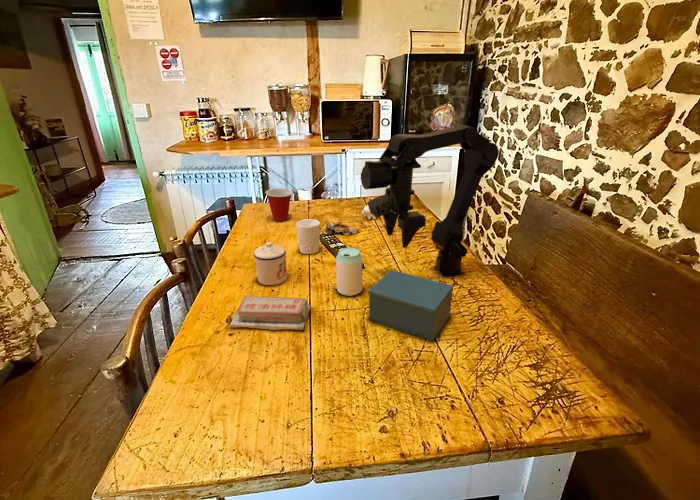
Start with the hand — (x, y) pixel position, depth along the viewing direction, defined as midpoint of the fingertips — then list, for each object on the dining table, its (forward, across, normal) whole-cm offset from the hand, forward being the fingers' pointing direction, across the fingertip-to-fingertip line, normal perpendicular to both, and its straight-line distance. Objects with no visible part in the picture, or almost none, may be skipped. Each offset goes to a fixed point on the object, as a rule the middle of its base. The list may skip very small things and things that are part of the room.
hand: (396, 241), depth 109 cm
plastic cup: (+14, -66, -20) cm, 70 cm away
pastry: (+13, -44, -1) cm, 46 cm away
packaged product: (+14, +5, -36) cm, 39 cm away
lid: (+5, +17, -5) cm, 19 cm away
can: (+14, -1, -14) cm, 19 cm away
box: (+13, +17, -4) cm, 22 cm away
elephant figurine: (+13, -53, +15) cm, 56 cm away
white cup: (+14, -31, -17) cm, 38 cm away
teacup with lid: (+14, -17, -32) cm, 39 cm away
